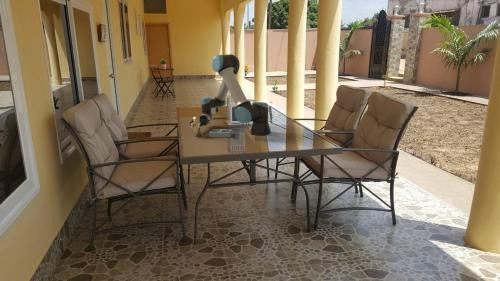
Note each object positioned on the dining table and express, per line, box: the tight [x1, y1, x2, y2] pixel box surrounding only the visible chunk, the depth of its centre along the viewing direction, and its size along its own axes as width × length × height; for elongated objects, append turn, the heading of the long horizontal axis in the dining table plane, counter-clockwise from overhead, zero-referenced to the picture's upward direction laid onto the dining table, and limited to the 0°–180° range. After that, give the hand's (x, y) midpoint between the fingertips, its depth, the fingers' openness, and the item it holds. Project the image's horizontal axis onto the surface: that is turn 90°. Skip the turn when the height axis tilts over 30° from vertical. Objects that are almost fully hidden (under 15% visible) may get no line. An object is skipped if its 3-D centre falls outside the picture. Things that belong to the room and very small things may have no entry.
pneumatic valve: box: [211, 107, 219, 120], centre depth 328 cm, size 6×12×12 cm, turn 101°
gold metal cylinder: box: [192, 116, 201, 138], centre depth 268 cm, size 4×4×14 cm
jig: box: [208, 128, 233, 138], centre depth 268 cm, size 15×10×4 cm, turn 82°
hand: (194, 126), depth 262 cm, fingers closed on gold metal cylinder, 4 cm apart
